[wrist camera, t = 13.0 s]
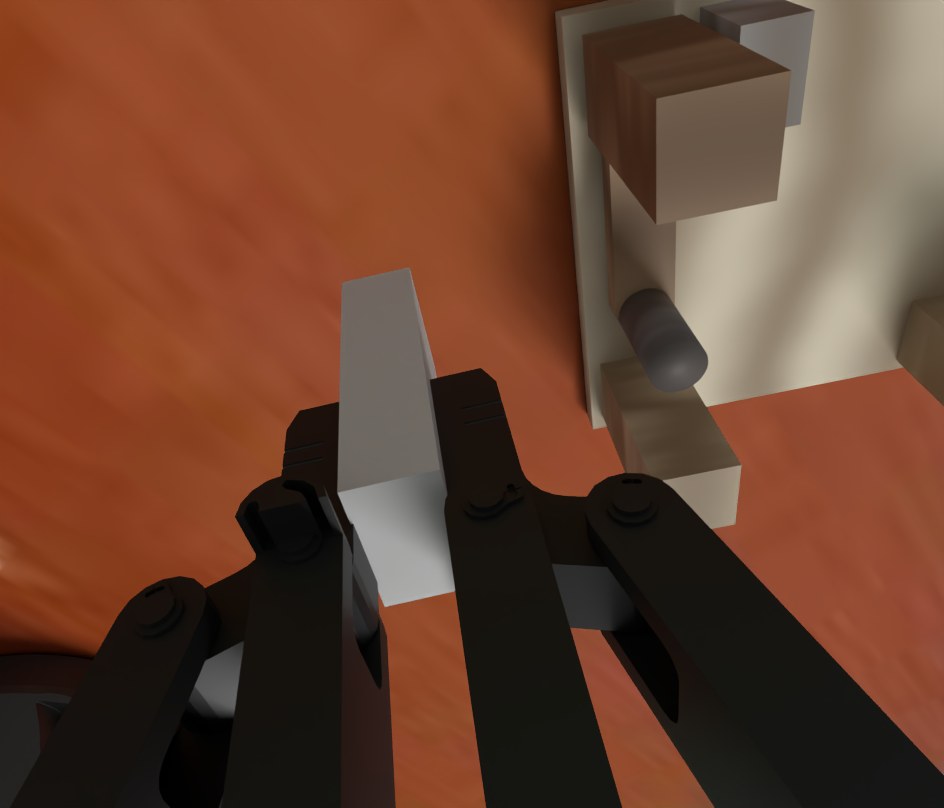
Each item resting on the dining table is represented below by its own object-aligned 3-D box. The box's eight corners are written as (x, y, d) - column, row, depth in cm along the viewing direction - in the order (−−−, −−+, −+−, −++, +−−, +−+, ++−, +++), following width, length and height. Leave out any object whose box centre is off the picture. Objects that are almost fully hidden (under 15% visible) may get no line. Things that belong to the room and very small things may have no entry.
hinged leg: (582, 34, 21) (656, 98, 15) (681, 14, 21) (791, 70, 15) (600, 328, 27) (656, 446, 22) (675, 313, 27) (751, 428, 22)
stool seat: (587, 415, 32) (639, 551, 26) (554, 11, 22) (628, 74, 15) (957, 341, 32) (1102, 461, 25) (1103, -104, 21) (1405, -87, 15)
